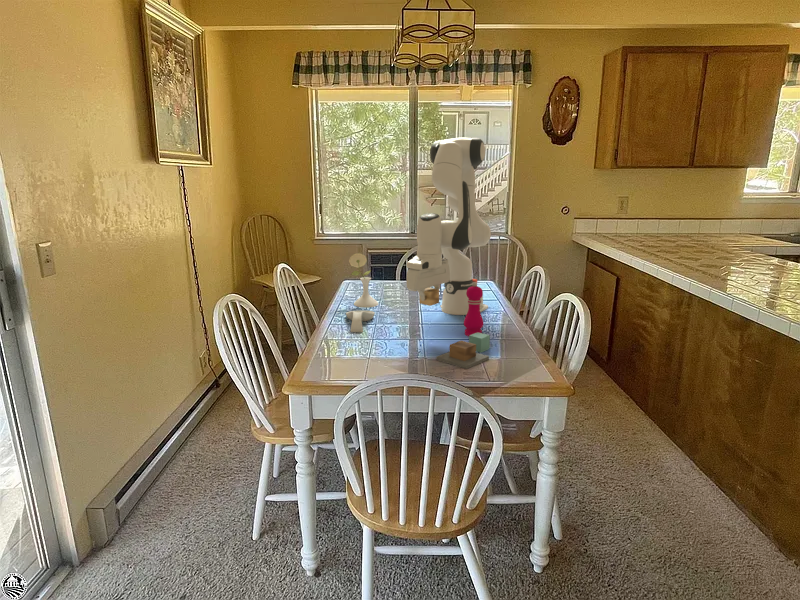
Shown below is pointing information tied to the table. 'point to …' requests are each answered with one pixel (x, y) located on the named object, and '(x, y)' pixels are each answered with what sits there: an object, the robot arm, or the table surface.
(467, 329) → the pepper mill
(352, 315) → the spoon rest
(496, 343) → the table surface
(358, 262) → the flower in vase
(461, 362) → the build board
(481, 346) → the block
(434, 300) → the block
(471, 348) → the base block
